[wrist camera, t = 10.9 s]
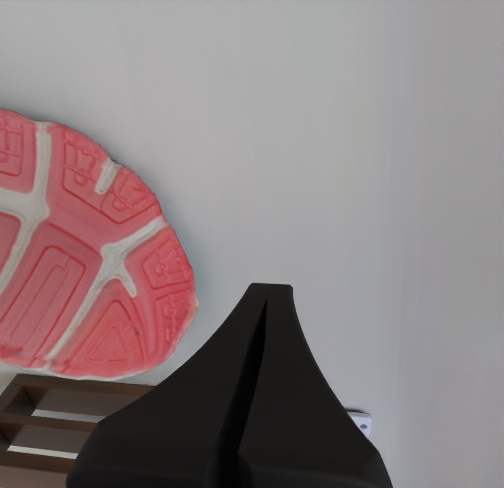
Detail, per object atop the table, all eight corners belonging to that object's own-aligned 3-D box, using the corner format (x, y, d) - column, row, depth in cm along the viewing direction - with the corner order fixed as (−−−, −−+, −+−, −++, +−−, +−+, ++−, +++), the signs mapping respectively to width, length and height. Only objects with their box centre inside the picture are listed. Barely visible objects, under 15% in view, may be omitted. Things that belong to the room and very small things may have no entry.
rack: (203, 415, 31) (176, 513, 25) (29, 397, 33) (-33, 483, 27) (199, 390, 30) (169, 487, 24) (17, 373, 32) (-52, 458, 26)
